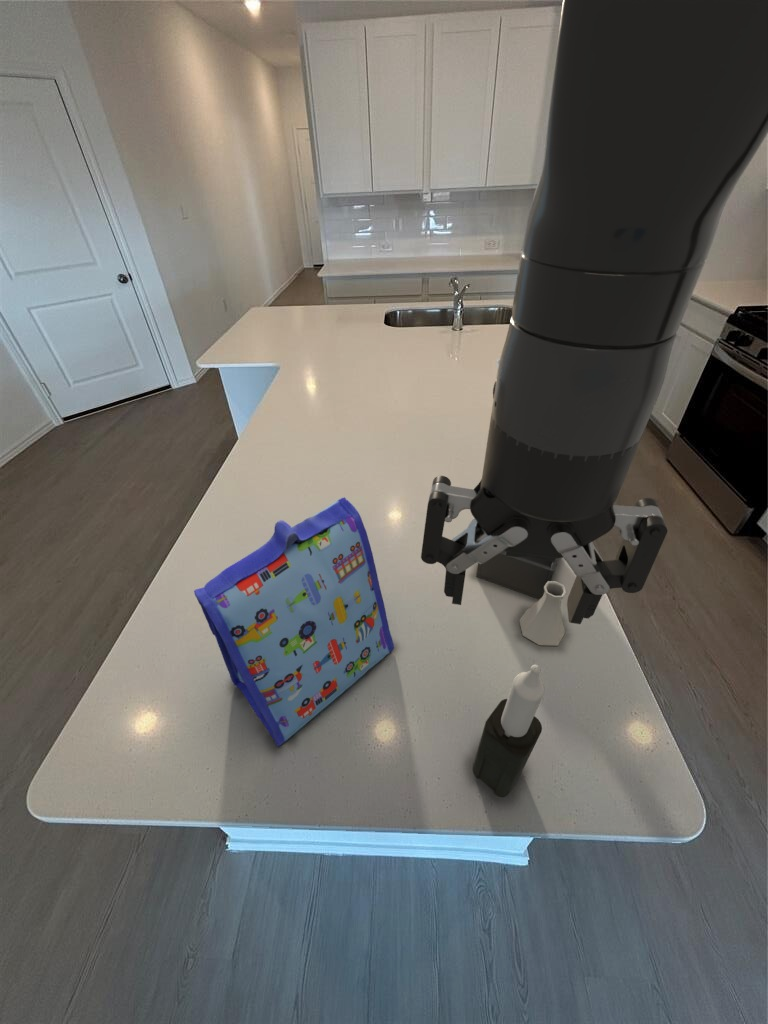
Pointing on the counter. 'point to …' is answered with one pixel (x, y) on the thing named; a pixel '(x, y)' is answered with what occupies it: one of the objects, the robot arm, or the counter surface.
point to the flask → (545, 617)
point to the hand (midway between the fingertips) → (514, 604)
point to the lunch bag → (300, 617)
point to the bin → (518, 573)
